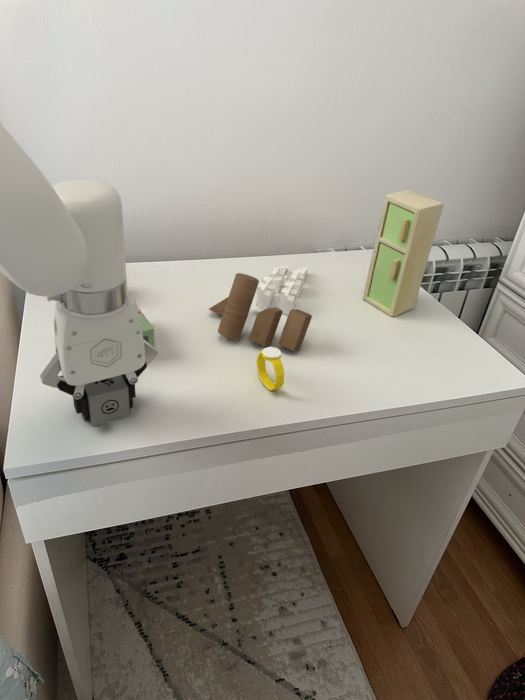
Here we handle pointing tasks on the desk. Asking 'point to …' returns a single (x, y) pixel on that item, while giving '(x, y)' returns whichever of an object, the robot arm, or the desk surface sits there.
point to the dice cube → (107, 400)
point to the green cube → (147, 330)
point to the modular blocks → (276, 282)
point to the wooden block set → (258, 317)
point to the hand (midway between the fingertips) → (106, 407)
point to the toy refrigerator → (401, 251)
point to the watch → (274, 357)
